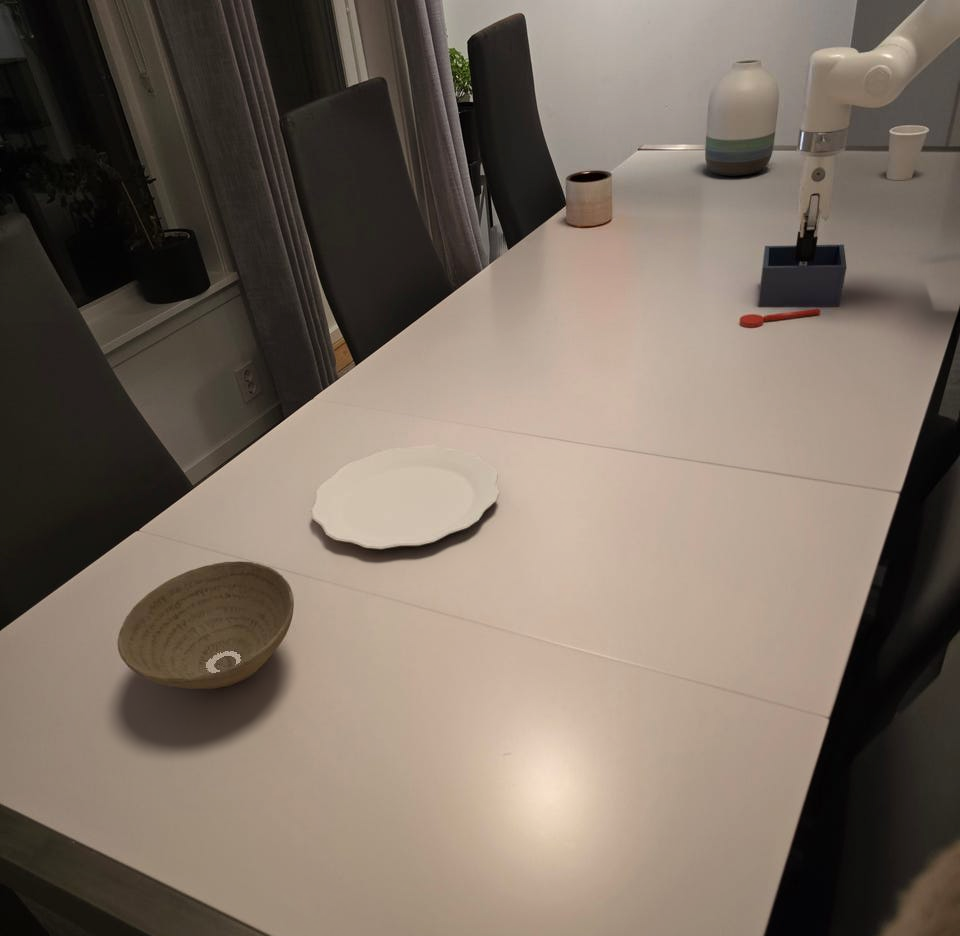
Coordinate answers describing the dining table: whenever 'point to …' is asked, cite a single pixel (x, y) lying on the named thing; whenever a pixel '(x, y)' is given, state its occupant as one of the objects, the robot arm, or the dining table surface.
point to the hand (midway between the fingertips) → (804, 257)
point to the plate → (405, 497)
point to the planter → (589, 198)
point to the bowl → (208, 625)
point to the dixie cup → (904, 151)
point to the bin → (802, 277)
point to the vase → (742, 120)
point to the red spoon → (774, 317)
